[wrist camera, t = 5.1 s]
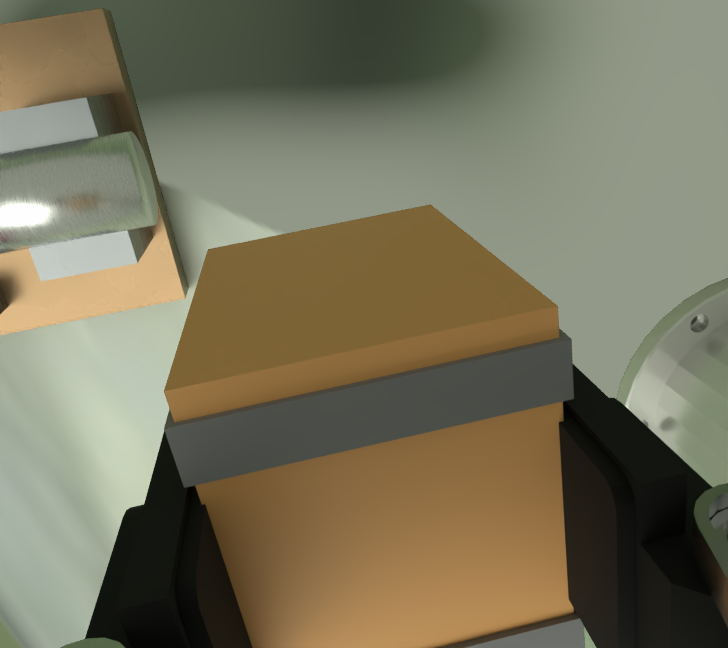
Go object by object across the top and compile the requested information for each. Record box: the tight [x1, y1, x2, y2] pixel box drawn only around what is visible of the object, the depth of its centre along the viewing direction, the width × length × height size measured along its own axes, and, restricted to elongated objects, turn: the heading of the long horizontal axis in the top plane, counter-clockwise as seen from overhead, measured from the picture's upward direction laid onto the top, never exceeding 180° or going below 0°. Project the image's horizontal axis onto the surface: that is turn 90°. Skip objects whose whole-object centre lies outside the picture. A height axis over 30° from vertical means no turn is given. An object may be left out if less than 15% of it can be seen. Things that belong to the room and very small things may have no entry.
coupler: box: [164, 205, 585, 648], centre depth 11 cm, size 6×5×6 cm
